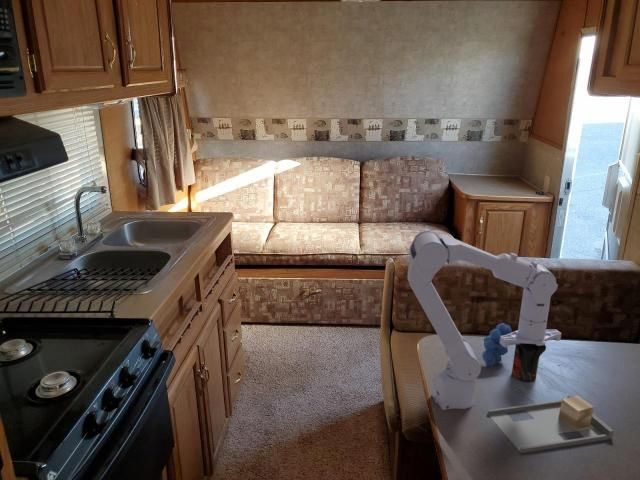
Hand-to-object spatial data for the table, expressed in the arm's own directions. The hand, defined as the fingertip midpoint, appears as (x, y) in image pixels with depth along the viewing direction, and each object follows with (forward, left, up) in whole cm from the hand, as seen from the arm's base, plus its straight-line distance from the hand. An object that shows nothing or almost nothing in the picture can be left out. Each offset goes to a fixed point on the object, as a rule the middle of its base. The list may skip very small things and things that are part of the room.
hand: (526, 369), depth 114 cm
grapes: (+5, +20, -11) cm, 23 cm away
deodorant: (+8, +10, -11) cm, 17 cm away
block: (+7, -9, -9) cm, 15 cm away
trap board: (+1, -9, -10) cm, 14 cm away
